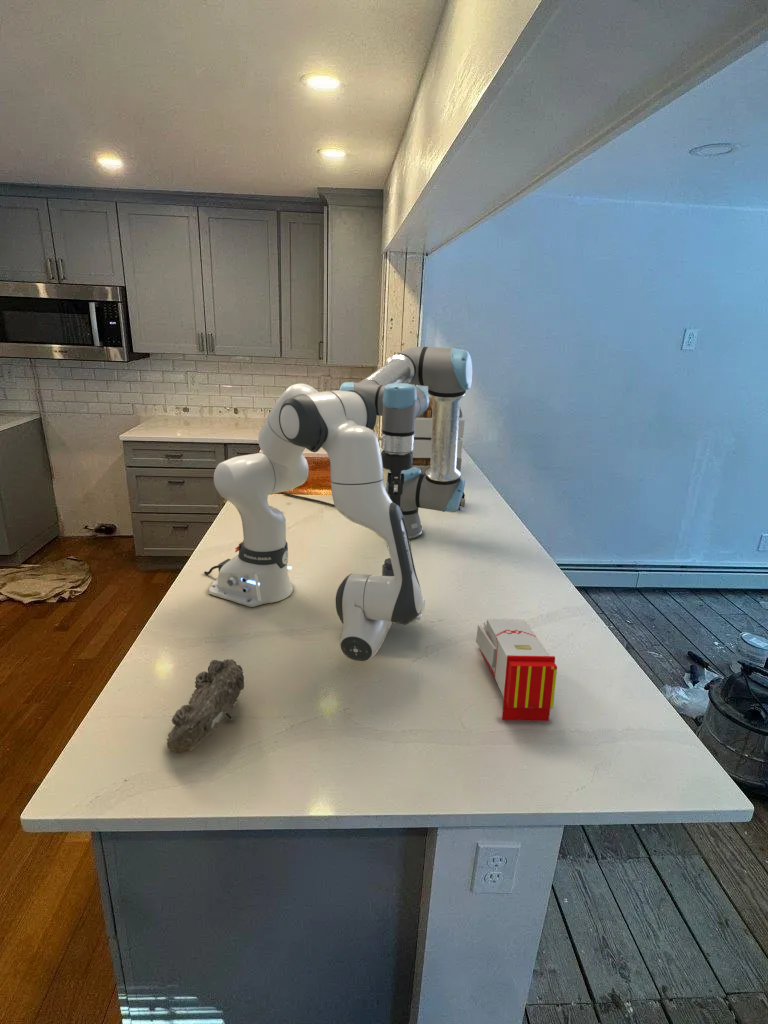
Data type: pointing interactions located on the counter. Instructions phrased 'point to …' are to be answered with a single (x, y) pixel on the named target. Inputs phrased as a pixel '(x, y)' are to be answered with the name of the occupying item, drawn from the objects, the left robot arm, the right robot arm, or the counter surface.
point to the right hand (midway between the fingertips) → (392, 541)
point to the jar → (387, 568)
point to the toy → (519, 668)
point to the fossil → (206, 705)
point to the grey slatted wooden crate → (424, 438)
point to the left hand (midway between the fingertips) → (390, 588)
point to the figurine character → (462, 501)
